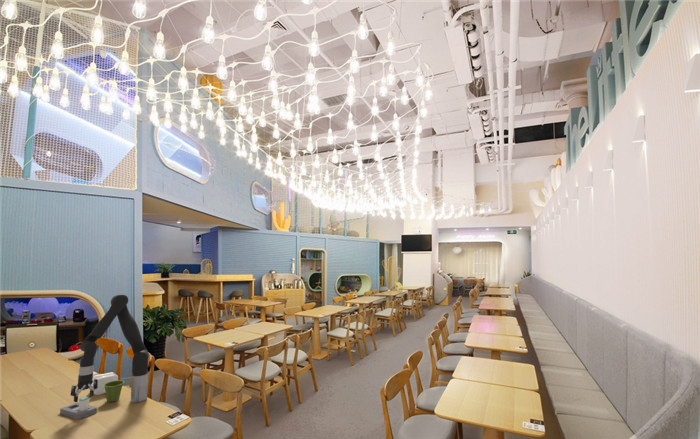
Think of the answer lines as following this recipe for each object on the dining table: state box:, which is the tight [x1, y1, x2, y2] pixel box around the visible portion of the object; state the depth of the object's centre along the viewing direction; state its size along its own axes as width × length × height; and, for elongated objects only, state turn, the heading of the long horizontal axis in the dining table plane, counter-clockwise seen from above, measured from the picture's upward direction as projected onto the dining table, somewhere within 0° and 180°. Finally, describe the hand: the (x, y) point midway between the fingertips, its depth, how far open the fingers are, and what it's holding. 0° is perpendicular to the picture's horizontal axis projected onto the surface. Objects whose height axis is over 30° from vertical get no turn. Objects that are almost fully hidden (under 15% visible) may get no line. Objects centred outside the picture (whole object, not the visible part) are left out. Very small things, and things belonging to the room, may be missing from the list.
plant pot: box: [104, 379, 125, 403], centre depth 237 cm, size 12×12×11 cm
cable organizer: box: [89, 371, 119, 396], centre depth 252 cm, size 15×11×12 cm
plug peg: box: [78, 396, 90, 412], centre depth 216 cm, size 4×4×10 cm
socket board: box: [59, 401, 98, 420], centre depth 218 cm, size 20×10×3 cm, turn 67°
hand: (83, 399), depth 217 cm, fingers open, 8 cm apart
